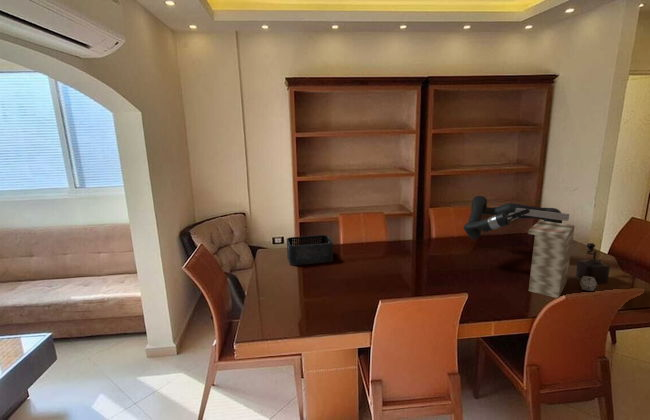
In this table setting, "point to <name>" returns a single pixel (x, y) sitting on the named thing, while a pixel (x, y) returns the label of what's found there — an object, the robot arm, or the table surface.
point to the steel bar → (545, 214)
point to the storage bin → (309, 250)
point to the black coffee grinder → (593, 267)
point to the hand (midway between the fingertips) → (529, 209)
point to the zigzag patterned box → (550, 257)
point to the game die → (588, 283)
